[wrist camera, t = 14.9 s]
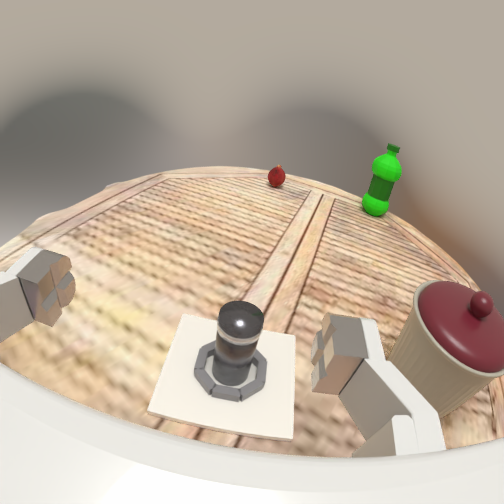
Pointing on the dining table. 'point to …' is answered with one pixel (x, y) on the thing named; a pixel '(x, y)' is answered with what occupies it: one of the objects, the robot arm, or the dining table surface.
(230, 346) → the lens tube
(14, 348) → the dining table surface
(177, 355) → the mount board
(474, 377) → the canister
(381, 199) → the plastic bottle
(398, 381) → the robot arm
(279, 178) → the onion
